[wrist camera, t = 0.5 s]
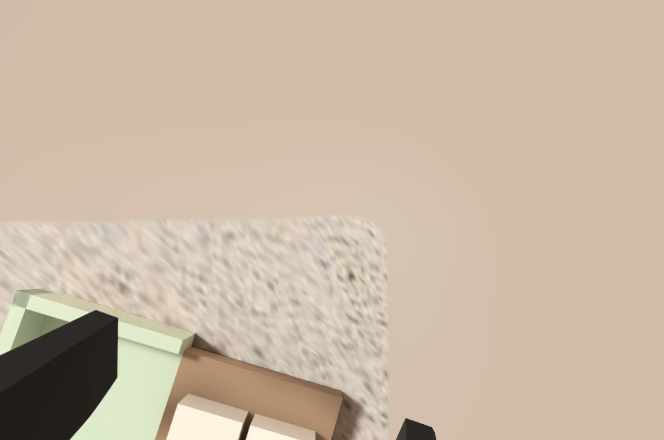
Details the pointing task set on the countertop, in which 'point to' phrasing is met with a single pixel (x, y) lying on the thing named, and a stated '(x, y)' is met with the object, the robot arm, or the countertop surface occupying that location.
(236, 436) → the tile
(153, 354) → the tray
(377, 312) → the countertop surface
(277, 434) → the tile
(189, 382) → the board
